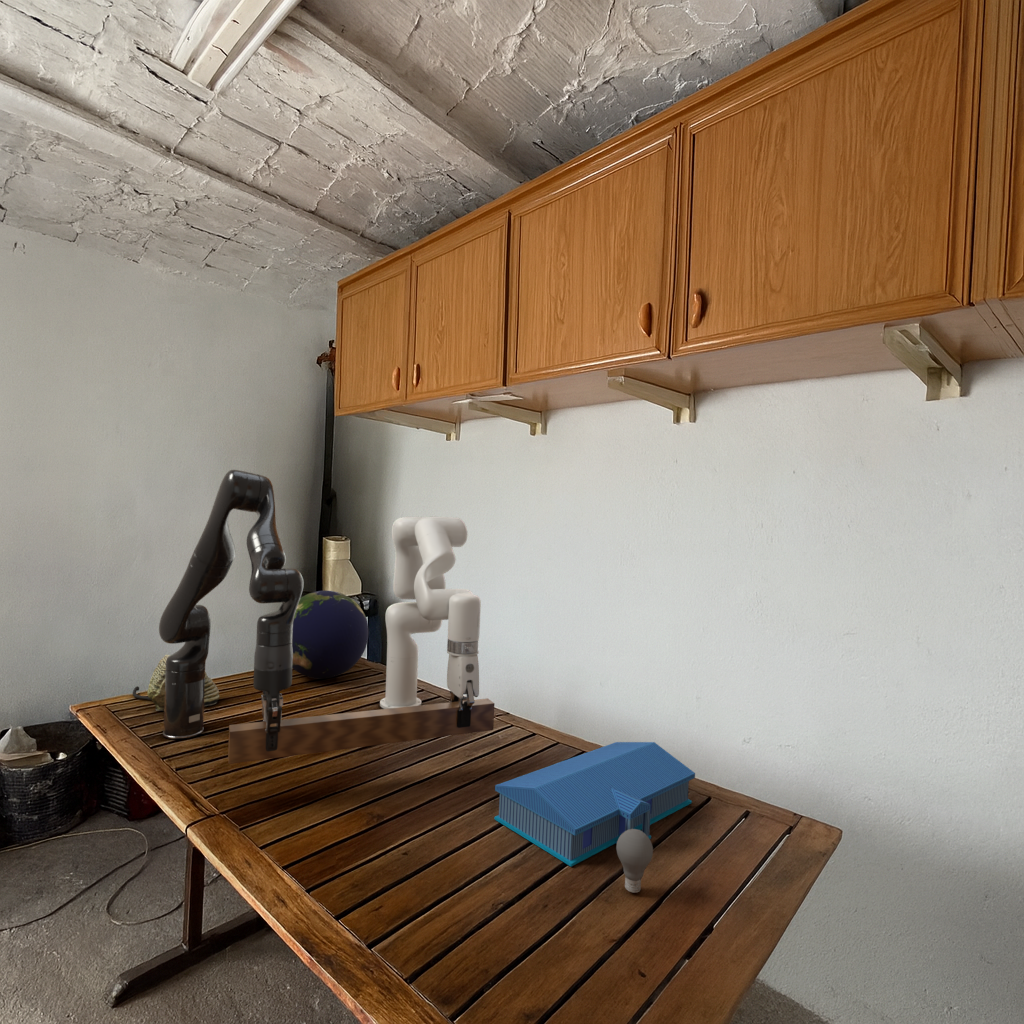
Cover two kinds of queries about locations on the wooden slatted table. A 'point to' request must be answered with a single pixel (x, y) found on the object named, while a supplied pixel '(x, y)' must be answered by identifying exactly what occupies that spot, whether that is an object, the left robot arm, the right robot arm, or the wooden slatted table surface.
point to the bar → (356, 730)
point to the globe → (327, 634)
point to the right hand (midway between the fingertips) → (459, 722)
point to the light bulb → (634, 857)
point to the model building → (594, 798)
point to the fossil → (158, 687)
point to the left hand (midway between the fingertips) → (270, 745)
